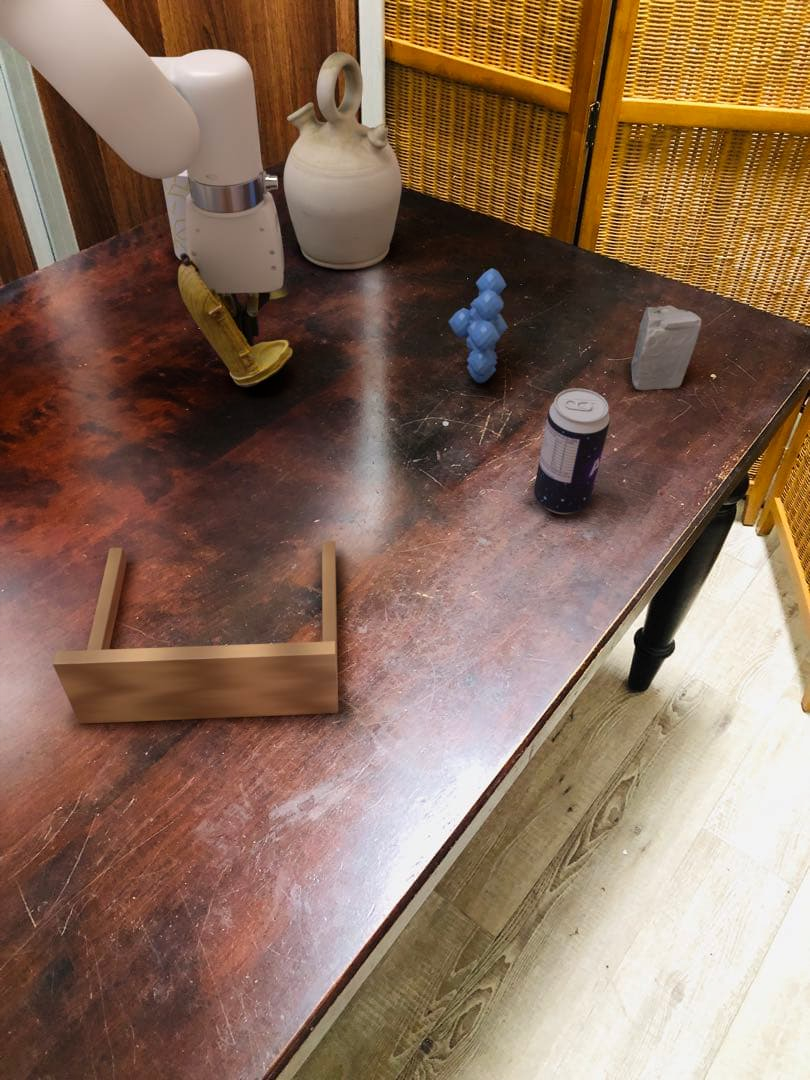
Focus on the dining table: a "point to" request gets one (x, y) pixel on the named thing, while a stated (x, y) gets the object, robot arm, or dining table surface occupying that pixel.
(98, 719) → the wooden bench frame
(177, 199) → the white upright cylinder
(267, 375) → the shrine
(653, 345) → the mineral specimen
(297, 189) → the jug
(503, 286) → the grapes
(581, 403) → the beverage can
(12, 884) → the dining table surface
